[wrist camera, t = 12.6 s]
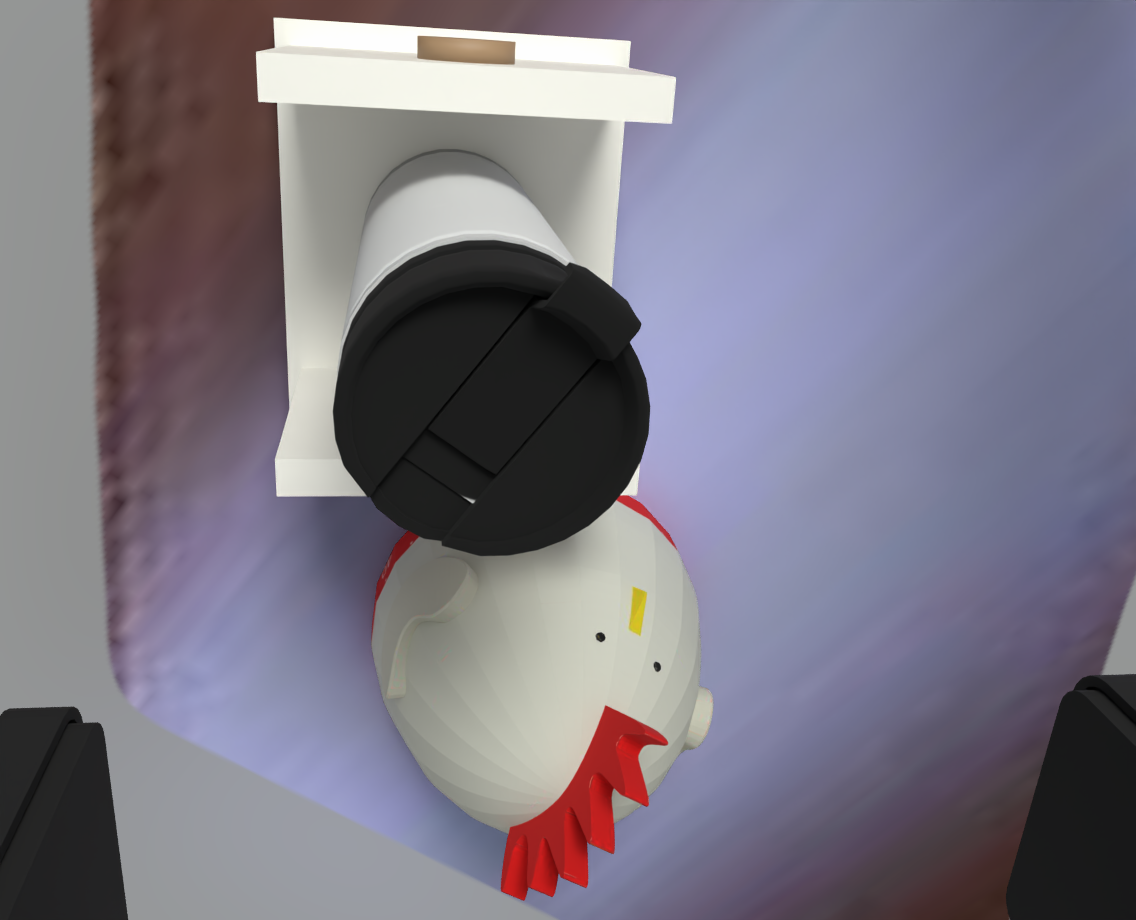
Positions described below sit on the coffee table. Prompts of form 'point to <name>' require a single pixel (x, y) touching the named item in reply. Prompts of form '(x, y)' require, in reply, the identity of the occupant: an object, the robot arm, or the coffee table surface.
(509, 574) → the kitchen timer
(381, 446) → the travel mug
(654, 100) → the holder
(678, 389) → the coffee table surface
